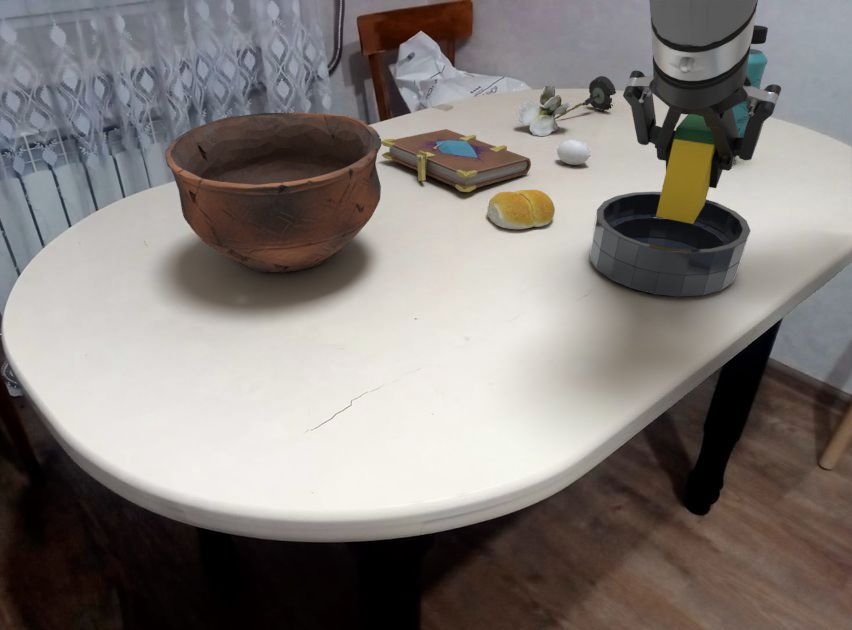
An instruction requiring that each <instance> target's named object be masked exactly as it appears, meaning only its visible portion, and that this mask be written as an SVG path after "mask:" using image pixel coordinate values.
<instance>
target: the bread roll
mask: <svg viewBox="0 0 852 630" xmlns="http://www.w3.org/2000/svg"><path fill="white" fill-rule="evenodd" d="M554 205H555V204H554V201H553V200H552V199H551V197H550V196H549V195H548V194H547V193H545V192H543V191H542V190H540V189H539V190H538V189H521V190H516V191H501V192H498V193H496V194H495V195H493V197H491V198H490V200H489V202H488V205H487V209H486V210H487V211H486V215H487V217H488V218H489V220H490V221H491V222H492V224H494V225H496V226H498V227H499V228H503V229H509V230H525V229H530V228H533V227H535V228H540V227H544V226H546V225H548V224H550V223H551V222H552V220H553V219H554V217H555V212H556V211H555V210H556V209H555V206H554Z"/></svg>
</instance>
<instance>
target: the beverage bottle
mask: <svg viewBox="0 0 852 630" xmlns="http://www.w3.org/2000/svg"><path fill="white" fill-rule="evenodd" d="M768 31H769V28H768V27H767V26H764V25H757V24H756V25H755V24H754V29H753V35H752V39H751V45H763V44H765V43H766V41H767V35H768ZM767 64H768V57H767V56H766V54H765V53H764V52H763V51H762V50H759V49H754V48H750V53H749V60H748V66H747V76H748V77H749V78H750V80H751V86H753V87H756V88H759V89H761V84H762V79H763V76H764V73H765V70H766V66H767ZM746 106H747V103H746V102H745V101H744V102H742V103H740V104H738V105H737V106H735V107H733V108H732V110H733V114H734V117H735V121H736V125H737V129H738V133H739V137H744V134H745V130H746V126H747V123H748V120H749V117H750V116H748V114H747V113H748V111H749V110H748V109H747V108H746Z"/></svg>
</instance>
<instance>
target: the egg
mask: <svg viewBox="0 0 852 630" xmlns="http://www.w3.org/2000/svg"><path fill="white" fill-rule="evenodd" d="M556 154H557V157H558V158H559V160H560V161H562V162H563V163H565V164H567V165H572V166H579V165H582V164H584V163H586V162H587V161H588V160H589V159H590V157H591V150H590V148H589V146H588V145H587V144H586V143H584V142H583V141H580V140H577V139H569V140H565V141H563V142H561V143H560V144H559V145H558V147H557V148H556Z"/></svg>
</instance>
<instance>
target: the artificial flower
mask: <svg viewBox="0 0 852 630" xmlns="http://www.w3.org/2000/svg"><path fill="white" fill-rule="evenodd" d="M555 87H556V86H555V85H553V84H549V85H544V87H543V89H542V91H541V92H540V97H539V104H540V105H539V104H538V103H537V102H535V101H532V100H526V101H525V102H524V103H523V104H522V105H519V106H518V107H517V110H516V116H517V119H518V121H519V123H520V124H523V125H529V132H530V133H532V136H539V137H547V136H548V135H550V134H551V133H552V132H555V131H557V130H558V127H559V126H558V125H559V124H558V122H557V121H556V120H557V119H560V118H562V117H563V116H566V114H568V113H570V112H571V111H574V110H575V109H578V108H579V107H581V106H586V107H587V106H588V105H590V106H591V107H592V108H593V109H598V110H601V111H609V110H611V109H612V107H614V104H615V102H613V98H612V97H611V96H614V95H616V94H617V90H616V87H615V85H614V83H613V82H612V80H611V79H610V78H608V77H607V76H604V75H600V76H597V77H596V78H594V79H593V80H591V81H590V83H589V85H588V92H589V97H588V98H586V99H585V100H584V101H583V102H579V103H577V104H575V105H574V106H573V107H572V108H570V107H571V106H572V105H573V103H574V101H573V100H568V101H567V102H564V103H562V97H561V95H559V94H557V95H556V88H555ZM612 102H613V104H612ZM568 108H569V109H568Z"/></svg>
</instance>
